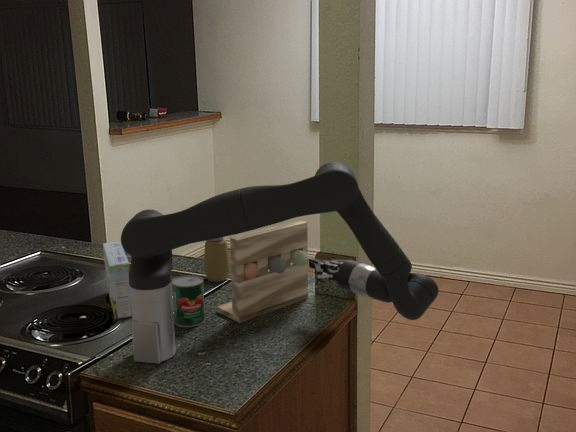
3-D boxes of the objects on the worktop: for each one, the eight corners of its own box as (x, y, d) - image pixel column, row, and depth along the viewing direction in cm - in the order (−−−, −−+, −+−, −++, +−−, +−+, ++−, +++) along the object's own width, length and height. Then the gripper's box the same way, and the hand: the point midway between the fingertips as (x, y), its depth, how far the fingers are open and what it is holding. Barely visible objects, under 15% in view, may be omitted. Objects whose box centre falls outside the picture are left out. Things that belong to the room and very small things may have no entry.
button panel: (307, 298, 176) (307, 222, 171) (240, 323, 161) (237, 240, 155) (283, 289, 183) (282, 215, 178) (216, 311, 168) (213, 232, 162)
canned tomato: (187, 330, 157) (185, 288, 154) (167, 321, 162) (165, 281, 159) (211, 320, 163) (209, 279, 160) (191, 312, 168) (189, 273, 165)
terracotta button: (258, 277, 161) (258, 262, 160) (246, 280, 159) (245, 265, 158) (248, 273, 164) (248, 258, 163) (236, 276, 162) (236, 262, 161)
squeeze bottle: (202, 284, 188) (200, 225, 184) (205, 274, 196) (202, 218, 191) (230, 283, 188) (227, 225, 184) (231, 274, 196) (229, 218, 192)
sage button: (308, 264, 170) (308, 250, 169) (297, 268, 168) (297, 253, 167) (298, 261, 173) (298, 247, 172) (287, 264, 171) (287, 250, 170)
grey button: (286, 271, 165) (286, 257, 164) (275, 275, 163) (275, 260, 162) (276, 267, 168) (276, 253, 167) (265, 271, 165) (264, 256, 164)
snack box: (106, 292, 182) (101, 242, 179) (125, 289, 184) (122, 240, 181) (113, 320, 163) (108, 265, 159) (135, 317, 165) (131, 262, 161)
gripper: (378, 257, 156) (328, 243, 168) (342, 270, 147) (291, 254, 160) (378, 286, 158) (328, 270, 170) (341, 300, 149) (292, 282, 162)
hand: (310, 262), depth 165 cm, fingers closed
